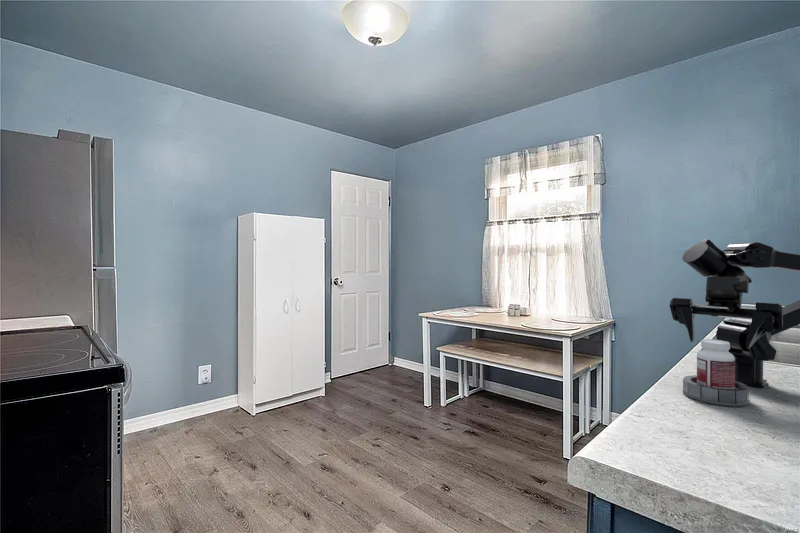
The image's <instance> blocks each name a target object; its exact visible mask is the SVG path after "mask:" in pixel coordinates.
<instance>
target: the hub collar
mask: <svg viewBox="0 0 800 533" xmlns="http://www.w3.org/2000/svg"><path fill="white" fill-rule="evenodd" d="M682 395H684V396H685V397H687V398H688V399H690V400H692V401H693V400H694V401H696V402H699V403H703V404H707V405H708V404H709V405H713V406H717V407H727V408H744V407H748V406H750V402H751V400H750V386H749V385H745V384H743V383H741V382H737V381H735V389H723V388H714V387H709V386H704V385H701V384H697V374H695V375H685V376H684V377H683V378H682Z"/></svg>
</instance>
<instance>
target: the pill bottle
mask: <svg viewBox="0 0 800 533" xmlns="http://www.w3.org/2000/svg"><path fill="white" fill-rule="evenodd" d="M700 346H701V348H702V349H700V350H698V351H697V353H696V375H697V384H701V385H704V386H709V387H714V388H723V389H735V357H734V356H733V354H731V353H729V351H728V350H730V343H729V342H727V341H722V340H717V339H714V338H713V339H712V338H711V339H710V338H707V339H706V338H704V339H701V340H700Z"/></svg>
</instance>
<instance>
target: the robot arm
mask: <svg viewBox="0 0 800 533" xmlns="http://www.w3.org/2000/svg"><path fill="white" fill-rule="evenodd" d="M682 262H684V263H686V265H688V266H689V267H691V268H692V269H693V270H694V271H696V272H697V273H698V274H700V275H701V276H702V277H706V281H705V282H706V285H705V297H704V298H705V302H706V303H707V304H696V303H695V304H694V301H693V298H689V297H688V298H687V297H686V298H685V297H672V298H671V299H670V302H669V308H670V309H669V310H670V313H671V317H672V319H673V321H676V322H678V323H679V324H681V325H684V326H685V329H686V331H687V332H688V337H689V338H688V339H689V342H690V343H693V342H694V340H695V330H696V329H695V324H696V323H695V316H696V315H702V316H703V315H704V316H711V317H718V318H725V319H724V320H723V319H722V322H723V323H721V324H719V325H718V326H717V328H716V333H715V334H716V335H715V336H716V337H715V338H716V340H722V341H727V342H729V343H730V350H728V351H729V353H731V354H733V356H734V357H735V381H737V382H741V383H743V384H745V385H747V386H749V387H750V386H751V387H756V388H762V389H763V388H765V387H766V385H767V383H768V380H767V379H764V362H766V361H767V362H768V361H773V360H775V358H776V355H777V350H776V349H775V348H774V347H773V345H771V343H770V342H771V339H772V337H773V336H775V335H779V334H780V333H784V332H785V331H788V330H790V329H793V328H794V327H797V326H800V299H799V300H797V301H794V302H792V303H790V304H787V305H785V306H782V305H781V304H780V303H779V302H778V303H776V302H764V301H763V302H761V301H759V302H758V301H756V302H755V307H754V308H755V309H753V308H742V301H743V294H748V293H749V286H750V283H752V282H753V281H752V278H751V277H749V276H748V275H747V274H746V271H745V270H744V269H742V268H745V269H747V268H750V269H758V268H759V269H760V268H761V269H762V268H763V269H765V268H768V269H769V268H770V269H776V270H782V271H787V272H794V273H800V254H798V253H791V252H784V251H779V250H777V249H775V248H774V247H773V246H772V245H771V246H770V245H768V244H764V243H762V242H757V241H755V242H736V243H729V244H728V245H727V246H726V247H725V249H720V248H719V247H717V245H715V244H714V242H713V241H711V239H701V240H700V241H699V243H697V244H694V245H693V246H691V247H690V248H689V249H687V250H685V251H684V253H683V255H682ZM726 318H727V319H726ZM728 318H729V319H728Z"/></svg>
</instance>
